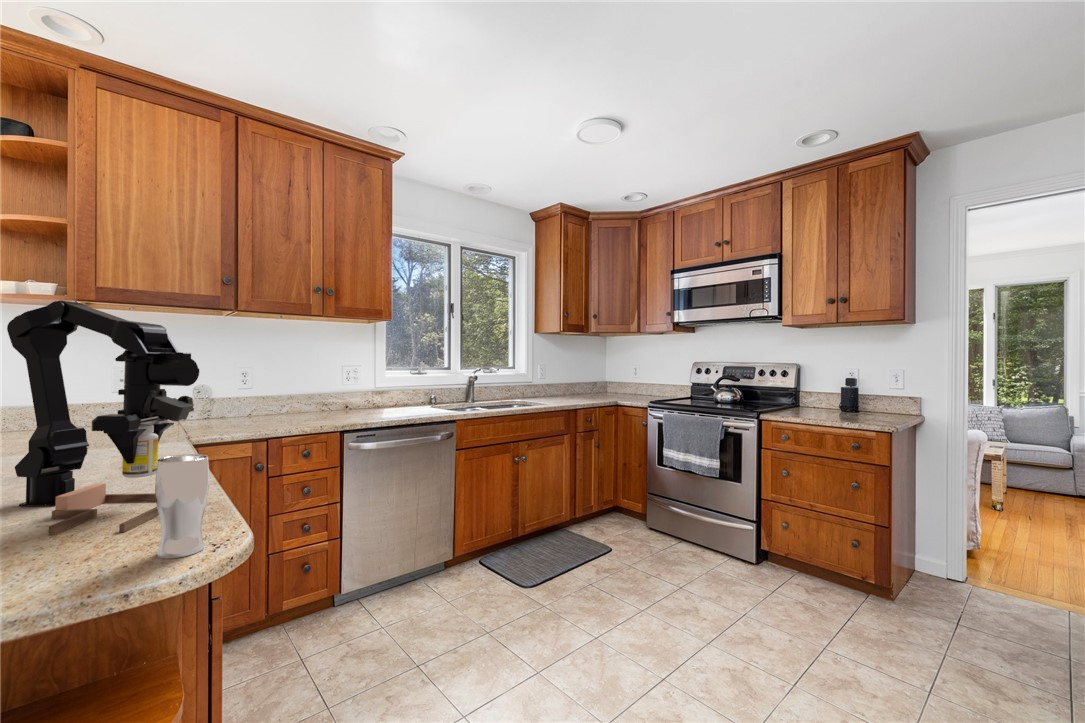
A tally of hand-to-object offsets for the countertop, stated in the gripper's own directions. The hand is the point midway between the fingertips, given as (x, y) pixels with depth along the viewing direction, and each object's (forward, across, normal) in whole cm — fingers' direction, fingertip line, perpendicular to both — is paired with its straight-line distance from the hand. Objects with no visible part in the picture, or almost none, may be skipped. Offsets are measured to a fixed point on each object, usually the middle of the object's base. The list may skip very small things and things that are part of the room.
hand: (140, 460), depth 98 cm
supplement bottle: (+3, 0, 0) cm, 3 cm away
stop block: (+10, 0, +10) cm, 14 cm away
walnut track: (+10, -5, +2) cm, 11 cm away
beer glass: (+10, -25, -21) cm, 34 cm away
